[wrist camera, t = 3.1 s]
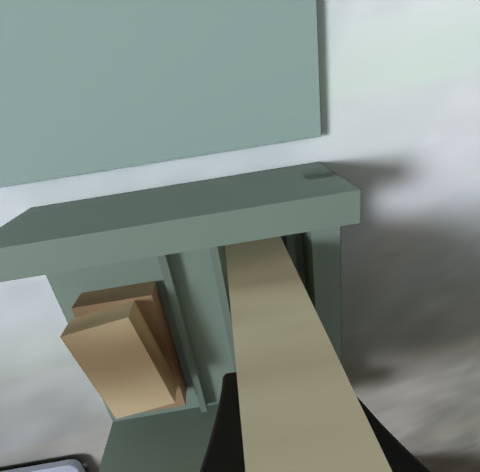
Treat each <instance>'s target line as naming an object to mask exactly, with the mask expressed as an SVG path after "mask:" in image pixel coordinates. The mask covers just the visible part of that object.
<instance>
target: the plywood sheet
mask: <svg viewBox="0 0 480 472" xmlns="http://www.w3.org/2000/svg"><path fill="white" fill-rule="evenodd" d="M225 252H226V263H227V274H228V285H229V296H230V307H231V318H232V329H233V340H234V351H235V362H236V373H237V384H238V395H239V406H240V417H241V428H242V439H243V450H244V461H245V472H392V470H391V468H390V466H389V464H388V461H387V459H386V457H385V455H384V453H383V451H382V449H381V447H380V445H379V443H378V440H377V438H376V436H375V434H374V432H373V430H372V428H371V426H370V424H369V422H368V419H367V417H366V415H365V413H364V411H363V409H362V407H361V405H360V403H359V401H358V398H357V396H356V394H355V392H354V390H353V388H352V386H351V384H350V382H349V380H348V377H347V375H346V373H345V371H344V369H343V367H342V365H341V363H340V361H339V359H338V356H337V354H336V352H335V350H334V348H333V346H332V344H331V342H330V340H329V338H328V335H327V333H326V331H325V329H324V327H323V325H322V323H321V321H320V319H319V317H318V314H317V312H316V310H315V308H314V306H313V304H312V302H311V300H310V298H309V296H308V293H307V291H306V289H305V287H304V285H303V283H302V281H301V279H300V277H299V275H298V272H297V270H296V268H295V266H294V264H293V262H292V260H291V258H290V256H289V254H288V251H287V249H286V247H285V245H284V243H283V241H282V239H281V237H280V236H279V237H272V238H266V239H260V240H254V241H248V242H242V243H236V244H230V245H225Z"/></svg>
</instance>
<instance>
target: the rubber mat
mask: <svg viewBox="0 0 480 472" xmlns="http://www.w3.org/2000/svg"><path fill="white" fill-rule="evenodd" d="M320 136H321V123H320V94H319V66H318V37H317V9H316V0H0V187H5V186H11V185H17V184H24V183H30V182H36V181H42V180H49V179H55V178H61V177H68V176H74V175H80V174H87V173H93V172H99V171H105V170H112V169H118V168H124V167H131V166H137V165H143V164H150V163H156V162H162V161H168V160H175V159H181V158H187V157H194V156H200V155H206V154H212V153H219V152H225V151H231V150H238V149H244V148H250V147H257V146H263V145H269V144H275V143H282V142H288V141H294V140H301V139H307V138H313V137H320Z"/></svg>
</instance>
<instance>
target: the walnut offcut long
mask: <svg viewBox="0 0 480 472" xmlns="http://www.w3.org/2000/svg"><path fill="white" fill-rule="evenodd" d="M133 300H135V302H136V304H137V306H138V308H139V310H140V312H141V314H142V316H143V318H144V320H145V321H146V323H147V325H148V327H149V329H150V331H151V333H152V335H153V337H154V339H155V341H156V343H157V344H158V346H159V348H160V350H161V352H162V354H163V356H164V358H165V360H166V362H167V364H168V365H169V367H170V369H171V371H172V373H173V375H174V377H175V379H176V381H177V390H176V399H175V403H172V404H169V405H165V406H162V407H158V408H154V409H151V410H147V411H144V412H149V411H154V410H160V409H166V408H172V407H178V406H184V405H186V393H187V385H186V381H185V378H184V375H183V371H182V368H181V365H180V361H179V358H178V354H177V351H176V348H175V344H174V341H173V337H172V334H171V331H170V327H169V324H168V320H167V317H166V314H165V310H164V307H163V303H162V300H161V297H160V293H159V290H158V286H157V283H156V281H151V282H144V283H138V284H132V285H126V286H120V287H114V288H108V289H102V290H96V291H90V292H84V293H81V294H80V295H79V297H78V298H77V300H76V302H75V303H74V305H73V306H72V308H71V309H72V311H73V313H74V316H75V317H78V316H82V315H85V314H89V313H92V312H95V311H99V310H102V309H106V308H109V307H113V306H116V305H119V304H123V303H126V302H130V301H133ZM140 413H143V412H140ZM136 414H137V413H136Z"/></svg>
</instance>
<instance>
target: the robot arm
mask: <svg viewBox="0 0 480 472" xmlns="http://www.w3.org/2000/svg"><path fill="white" fill-rule="evenodd" d="M357 398H358V397H357ZM358 401H359V403H360V405H361V407H362V409H363V411H364V413H365V415H366V417H367V419H368V422H369V424H370V426H371V428H372V430H373V432H374V434H375V436H376V438H377V440H378V443H379V445H380V447H381V449H382V451H383V453H384V455H385V457H386V459H387V461H388V464H389V466H390V468H391V470H392V472H430V471H429V470H428V469H427V468H426V467H425V466H424V465H422V464H421V463H420V462H419V461H418V460H417V459H416V458H415V457H414V456H413V455H412V454H411V453H410V452H409V451H408V450H407V449H406V448H405V447H404V446H403V445H402V444H401V443H400V442H399V441H398V440H397V439H396V438H395V437H394V436H393V435H392V434H391V433H390V432H389V431H388V430H387V429H386V428H385V427H384V426H383V425H382V424H381V423H380V422H379V421H378V420H377V419H376V417H375V416H374V415H373V414H372V413H371V412H370V411H369V410H368V408H367V407H366V406H365V405H364V404H363V403H362V402H361V401H360V400H359V398H358ZM0 472H85V470H84V468H83V466H82V464H81V463H80V462H79V461H78V460H75V459H68V460H63V461H57V462H51V463H45V464H39V465H34V466H28V467H22V468H16V469H11V470H5V471H0ZM200 472H245V461H244V450H243V439H242V428H241V417H240V406H239V395H238V384H237V373H236V372H233V373H227V374H225V375H224V376H223V381H222V389H221V395H220V401H219V405H218V410H217V414H216V418H215V422H214V426H213V430H212V433H211V437H210V441H209V444H208V448H207V451H206V454H205V457H204V460H203V463H202V466H201V469H200Z"/></svg>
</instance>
